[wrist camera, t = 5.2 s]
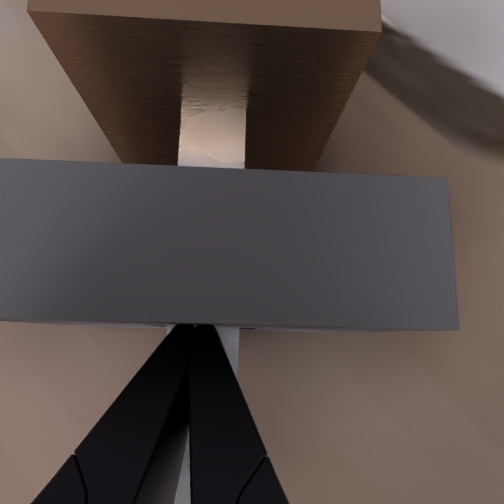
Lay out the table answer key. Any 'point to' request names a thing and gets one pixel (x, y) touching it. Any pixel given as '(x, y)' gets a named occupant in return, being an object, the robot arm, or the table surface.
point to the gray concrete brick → (224, 248)
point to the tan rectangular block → (213, 83)
